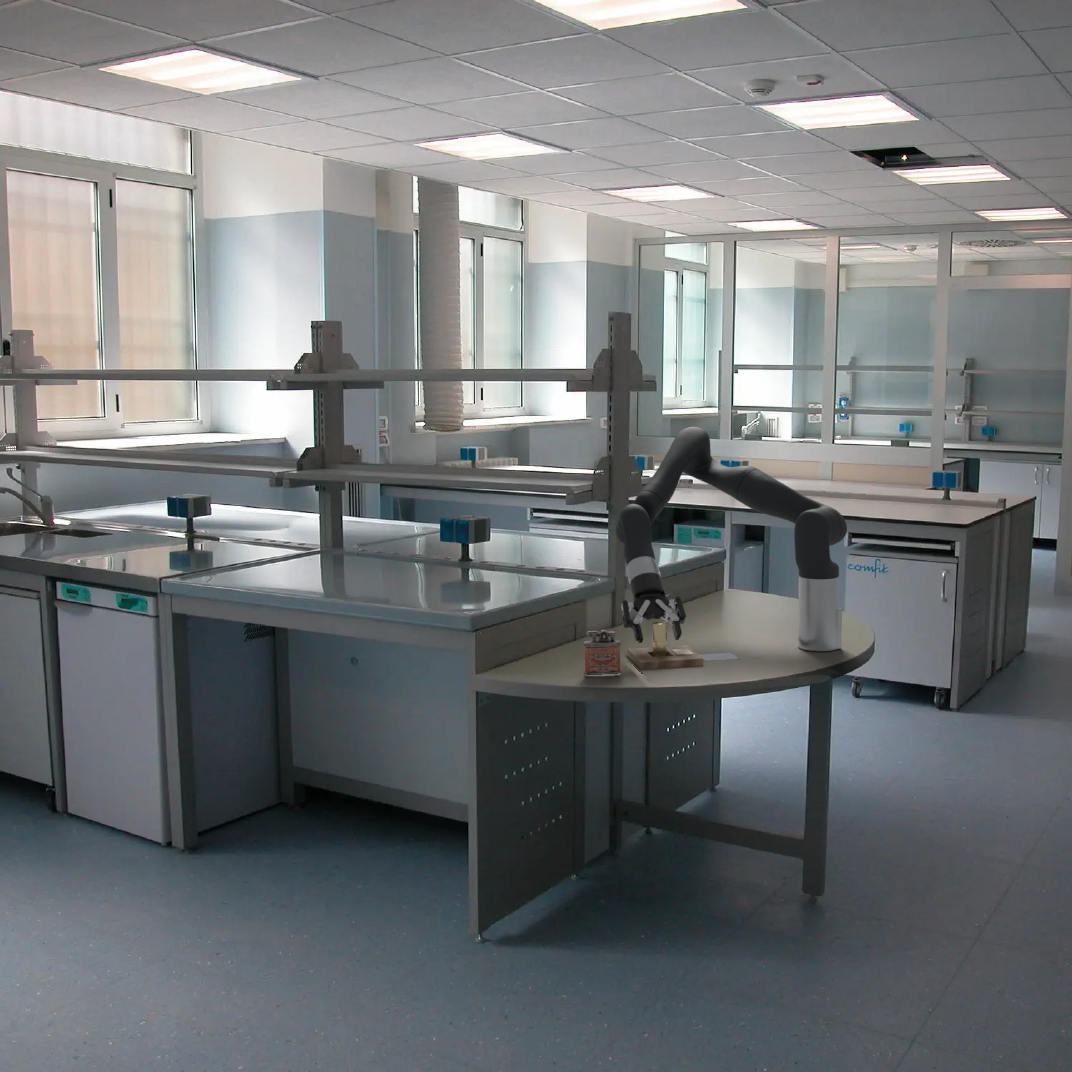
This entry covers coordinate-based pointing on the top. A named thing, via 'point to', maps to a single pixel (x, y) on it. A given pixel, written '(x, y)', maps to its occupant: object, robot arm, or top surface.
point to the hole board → (664, 658)
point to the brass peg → (659, 639)
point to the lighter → (602, 653)
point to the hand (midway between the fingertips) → (659, 639)
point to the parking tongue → (718, 656)
